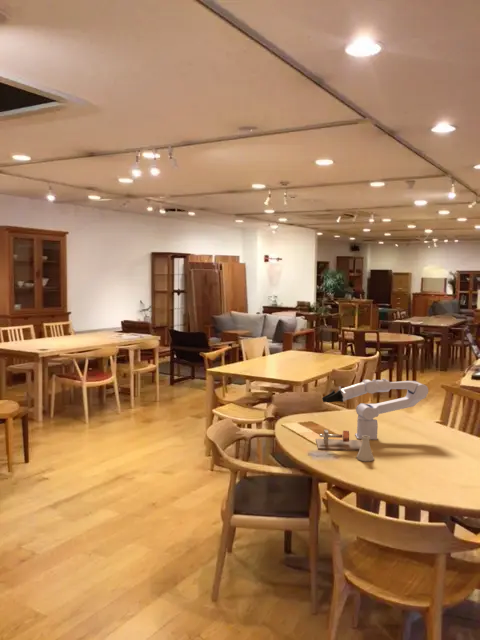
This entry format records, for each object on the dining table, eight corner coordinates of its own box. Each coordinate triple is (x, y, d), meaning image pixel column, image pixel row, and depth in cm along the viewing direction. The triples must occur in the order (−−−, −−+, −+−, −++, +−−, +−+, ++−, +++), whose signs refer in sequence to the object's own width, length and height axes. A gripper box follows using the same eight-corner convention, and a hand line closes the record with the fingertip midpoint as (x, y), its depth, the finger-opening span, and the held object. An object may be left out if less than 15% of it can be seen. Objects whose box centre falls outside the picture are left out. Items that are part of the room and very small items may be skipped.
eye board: (362, 441, 272) (363, 427, 271) (367, 451, 258) (368, 436, 257) (315, 440, 273) (316, 426, 272) (318, 449, 259) (318, 435, 258)
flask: (363, 463, 242) (364, 439, 241) (353, 457, 249) (353, 435, 248) (377, 460, 246) (378, 437, 245) (366, 455, 252) (367, 433, 251)
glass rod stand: (347, 440, 268) (347, 429, 267) (349, 443, 263) (349, 432, 262) (318, 439, 268) (319, 428, 268) (319, 442, 263) (320, 431, 263)
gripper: (344, 383, 284) (318, 391, 282) (353, 383, 270) (325, 392, 268) (349, 397, 283) (323, 406, 282) (357, 398, 269) (330, 406, 267)
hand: (324, 400), depth 275 cm, fingers open, 7 cm apart
